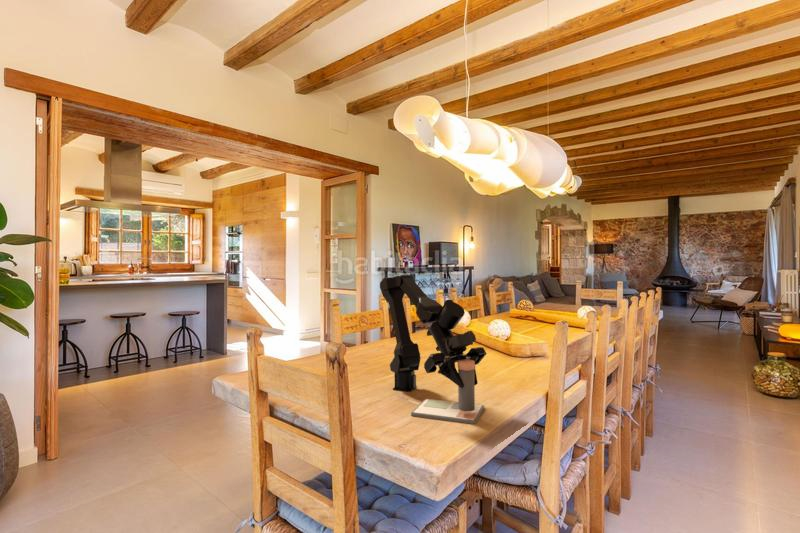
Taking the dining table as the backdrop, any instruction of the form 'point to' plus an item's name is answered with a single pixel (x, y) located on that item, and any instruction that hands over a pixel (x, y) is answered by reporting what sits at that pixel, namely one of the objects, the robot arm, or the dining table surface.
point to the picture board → (447, 411)
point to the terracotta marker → (466, 385)
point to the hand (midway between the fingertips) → (469, 385)
